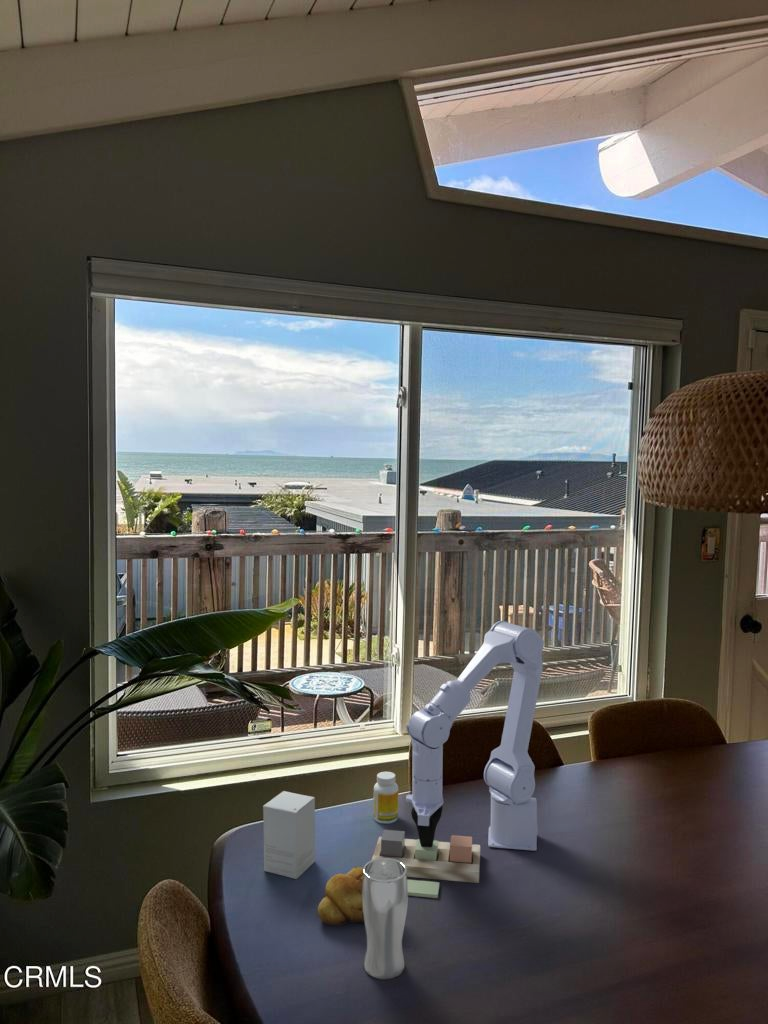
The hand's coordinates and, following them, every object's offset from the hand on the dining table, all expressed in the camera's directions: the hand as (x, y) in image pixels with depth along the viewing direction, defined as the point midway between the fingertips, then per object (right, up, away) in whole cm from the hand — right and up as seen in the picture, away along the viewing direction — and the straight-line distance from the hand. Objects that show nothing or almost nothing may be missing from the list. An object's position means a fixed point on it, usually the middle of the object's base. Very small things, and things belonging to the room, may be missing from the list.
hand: (426, 845), depth 139 cm
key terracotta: (+6, -2, -1) cm, 7 cm away
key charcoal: (-6, -2, +1) cm, 7 cm away
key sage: (0, -3, 0) cm, 3 cm away
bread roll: (-13, -5, -15) cm, 21 cm away
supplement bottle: (-8, -3, +19) cm, 20 cm away
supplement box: (-26, -4, -1) cm, 26 cm away
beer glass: (-8, -5, -29) cm, 30 cm away
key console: (0, -4, 0) cm, 4 cm away
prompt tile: (-1, -4, -9) cm, 10 cm away
